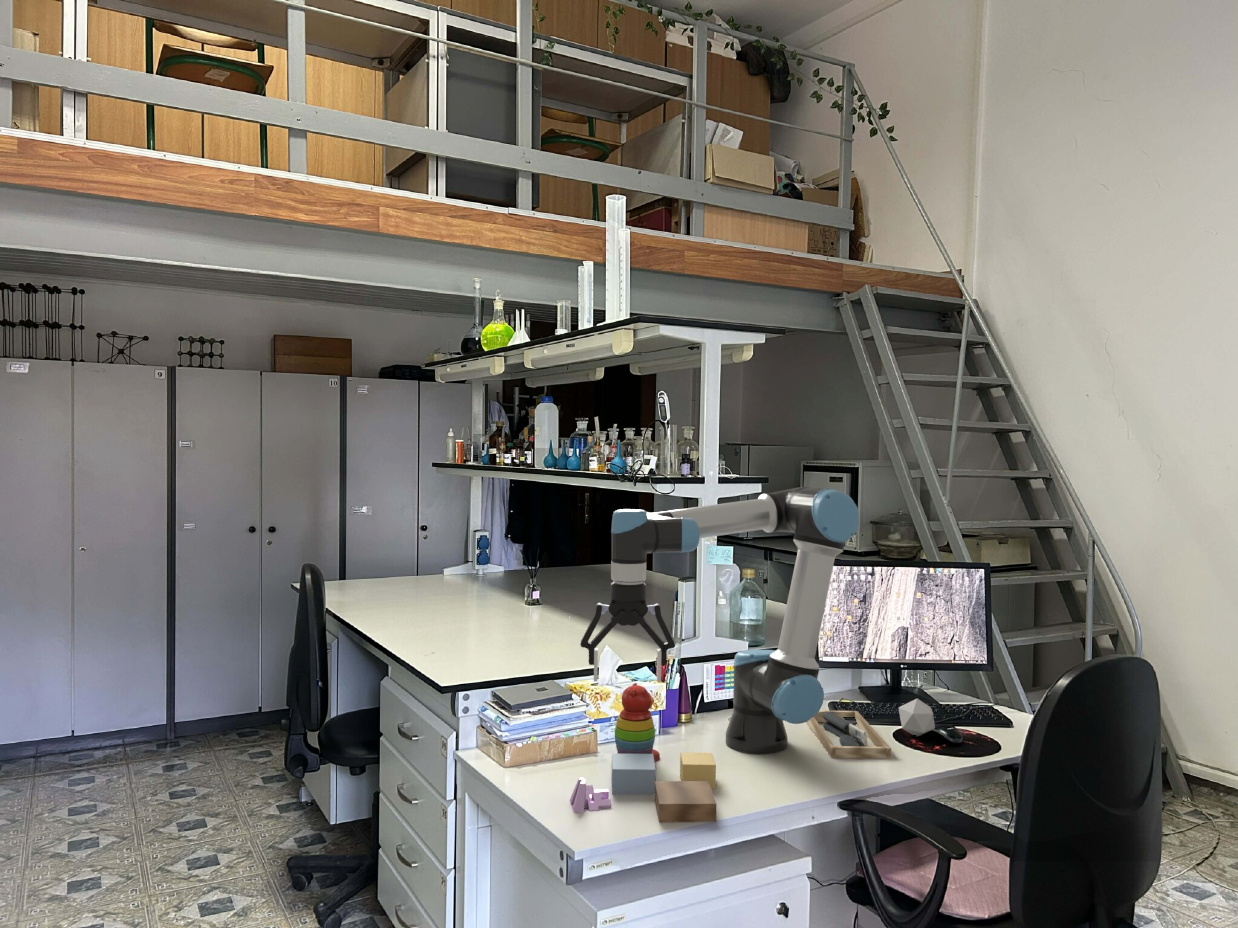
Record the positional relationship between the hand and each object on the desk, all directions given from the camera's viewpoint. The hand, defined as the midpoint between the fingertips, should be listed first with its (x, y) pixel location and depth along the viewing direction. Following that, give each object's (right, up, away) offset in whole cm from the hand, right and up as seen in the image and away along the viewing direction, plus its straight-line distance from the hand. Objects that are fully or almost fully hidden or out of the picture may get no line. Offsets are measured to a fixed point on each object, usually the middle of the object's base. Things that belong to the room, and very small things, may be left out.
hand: (627, 680), depth 182 cm
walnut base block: (+11, -24, -14) cm, 30 cm away
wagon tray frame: (+55, -23, +31) cm, 67 cm away
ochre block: (+15, -23, +1) cm, 28 cm away
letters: (-8, -24, -11) cm, 27 cm away
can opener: (+55, -24, +31) cm, 67 cm away
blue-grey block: (+1, -23, -1) cm, 23 cm away
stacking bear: (+2, -23, +14) cm, 27 cm away
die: (+74, -24, +34) cm, 85 cm away
